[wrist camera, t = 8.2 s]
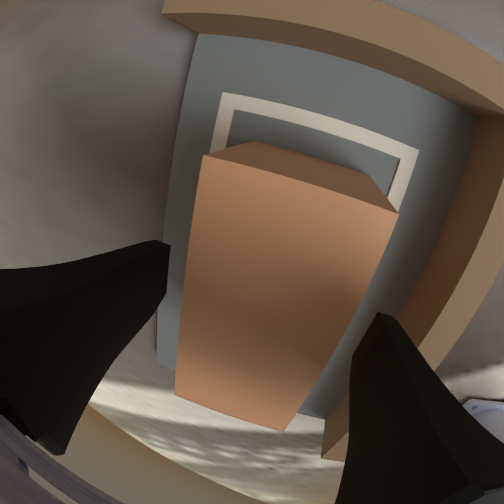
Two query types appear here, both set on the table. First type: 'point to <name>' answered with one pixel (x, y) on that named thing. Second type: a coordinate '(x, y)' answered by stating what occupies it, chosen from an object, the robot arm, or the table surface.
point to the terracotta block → (273, 277)
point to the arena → (353, 155)
